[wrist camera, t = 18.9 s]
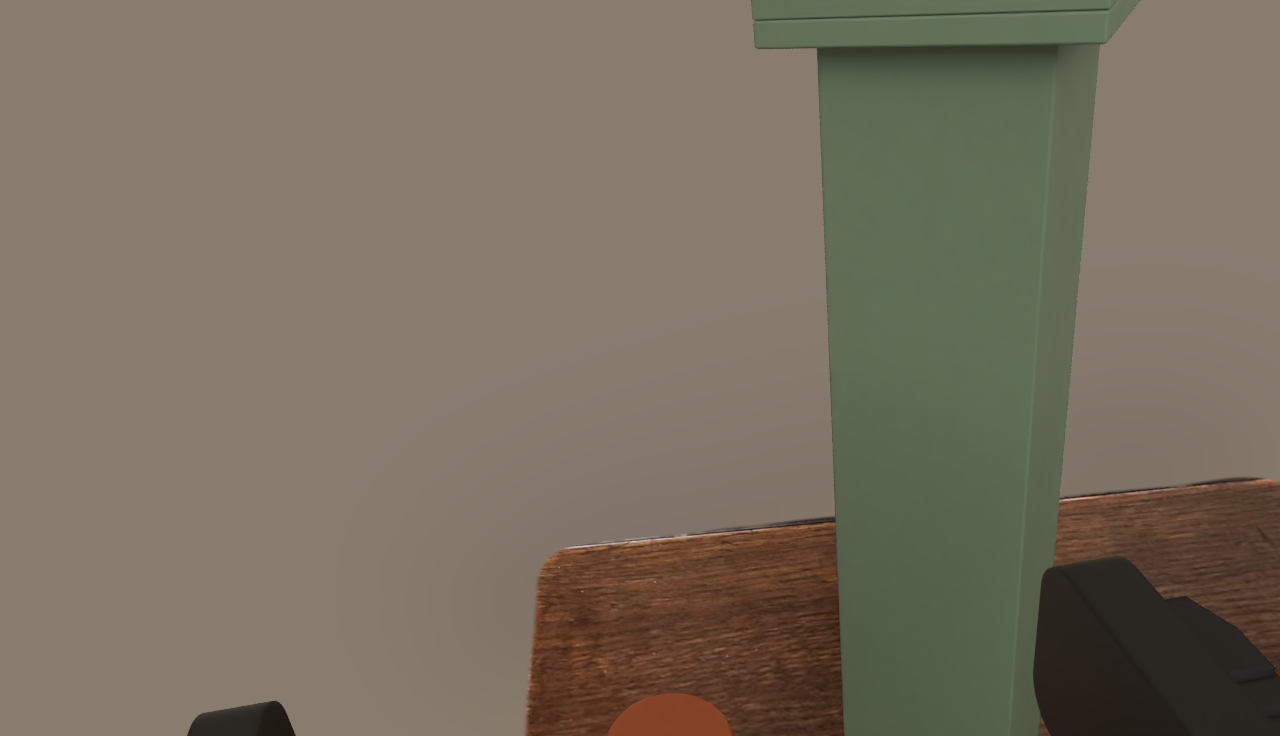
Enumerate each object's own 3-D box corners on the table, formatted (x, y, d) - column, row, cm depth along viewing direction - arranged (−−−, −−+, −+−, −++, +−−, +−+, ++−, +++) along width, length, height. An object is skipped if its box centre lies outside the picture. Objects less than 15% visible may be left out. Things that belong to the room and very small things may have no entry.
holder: (1019, 991, 31) (1118, -82, 17) (811, 897, 35) (746, -56, 20) (1065, 817, 36) (1171, -124, 22) (879, 751, 40) (865, -96, 26)
